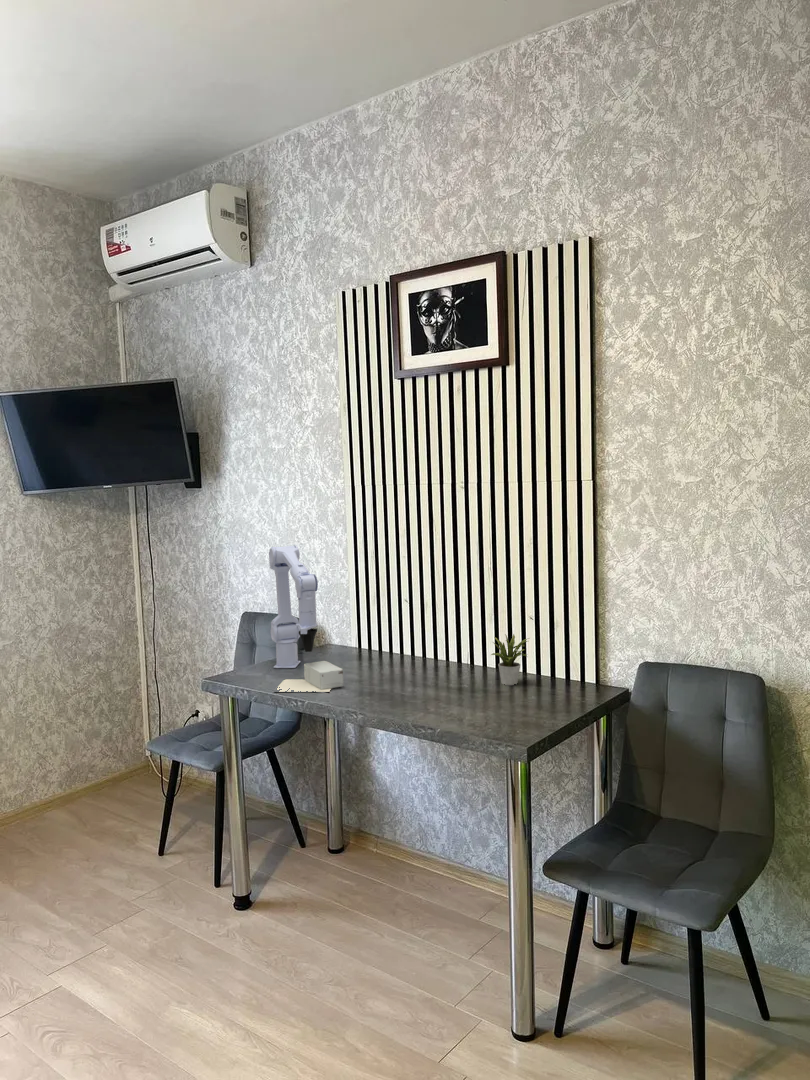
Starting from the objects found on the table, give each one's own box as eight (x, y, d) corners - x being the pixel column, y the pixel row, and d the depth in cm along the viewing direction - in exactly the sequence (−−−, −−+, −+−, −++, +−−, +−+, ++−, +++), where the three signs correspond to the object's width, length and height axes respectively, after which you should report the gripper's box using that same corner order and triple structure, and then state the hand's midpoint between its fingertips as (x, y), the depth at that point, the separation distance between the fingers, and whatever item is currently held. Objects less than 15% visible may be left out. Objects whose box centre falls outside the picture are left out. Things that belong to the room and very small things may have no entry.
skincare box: (304, 680, 267) (319, 691, 254) (303, 662, 267) (318, 672, 253) (327, 676, 271) (343, 687, 258) (327, 659, 270) (343, 669, 257)
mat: (284, 680, 269) (284, 679, 269) (337, 680, 267) (337, 679, 267) (273, 693, 254) (273, 691, 254) (329, 693, 252) (329, 691, 252)
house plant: (537, 689, 250) (536, 638, 249) (493, 690, 250) (492, 639, 249) (529, 677, 265) (529, 629, 263) (488, 679, 265) (487, 630, 263)
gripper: (300, 607, 272) (301, 646, 273) (290, 615, 258) (292, 656, 259) (320, 607, 271) (321, 646, 273) (312, 614, 257) (313, 656, 258)
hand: (308, 651), depth 266 cm, fingers closed
